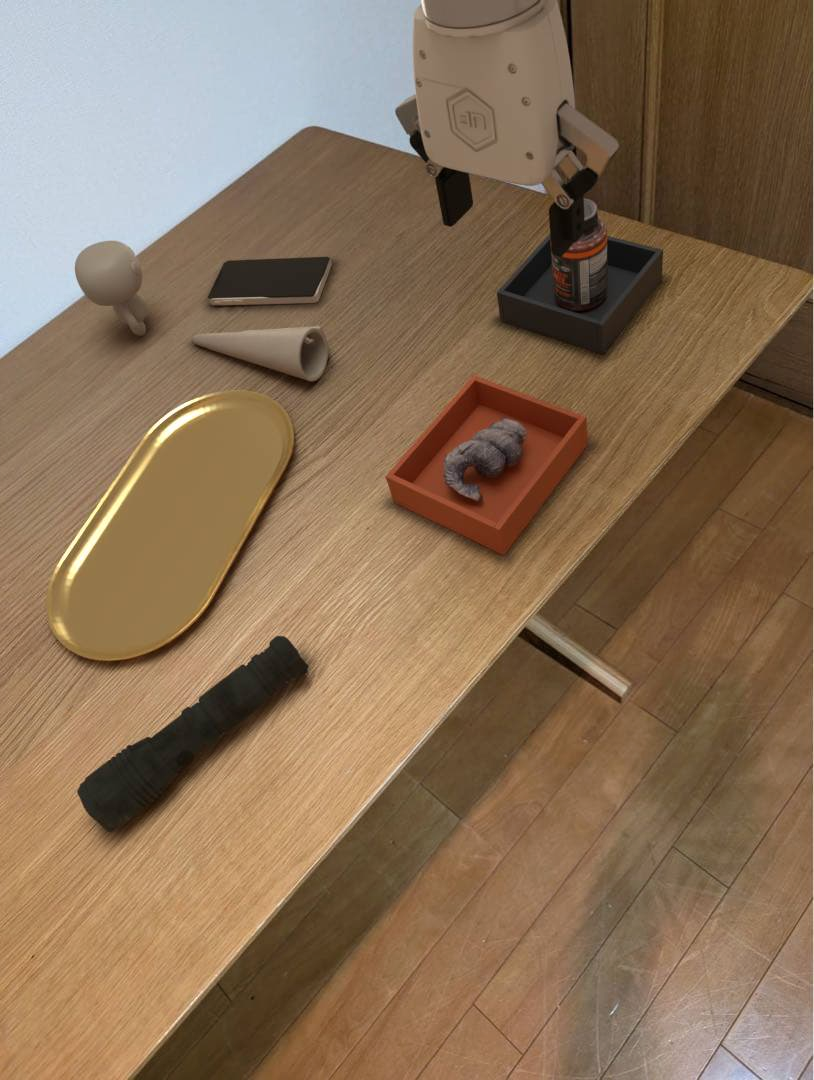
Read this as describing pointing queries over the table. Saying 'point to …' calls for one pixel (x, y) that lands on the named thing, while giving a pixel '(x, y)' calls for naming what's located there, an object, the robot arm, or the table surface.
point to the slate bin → (595, 329)
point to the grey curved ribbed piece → (485, 455)
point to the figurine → (113, 281)
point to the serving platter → (169, 526)
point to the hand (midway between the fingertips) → (511, 230)
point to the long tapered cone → (274, 349)
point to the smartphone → (270, 281)
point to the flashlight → (186, 736)
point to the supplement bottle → (583, 266)
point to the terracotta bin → (505, 497)
